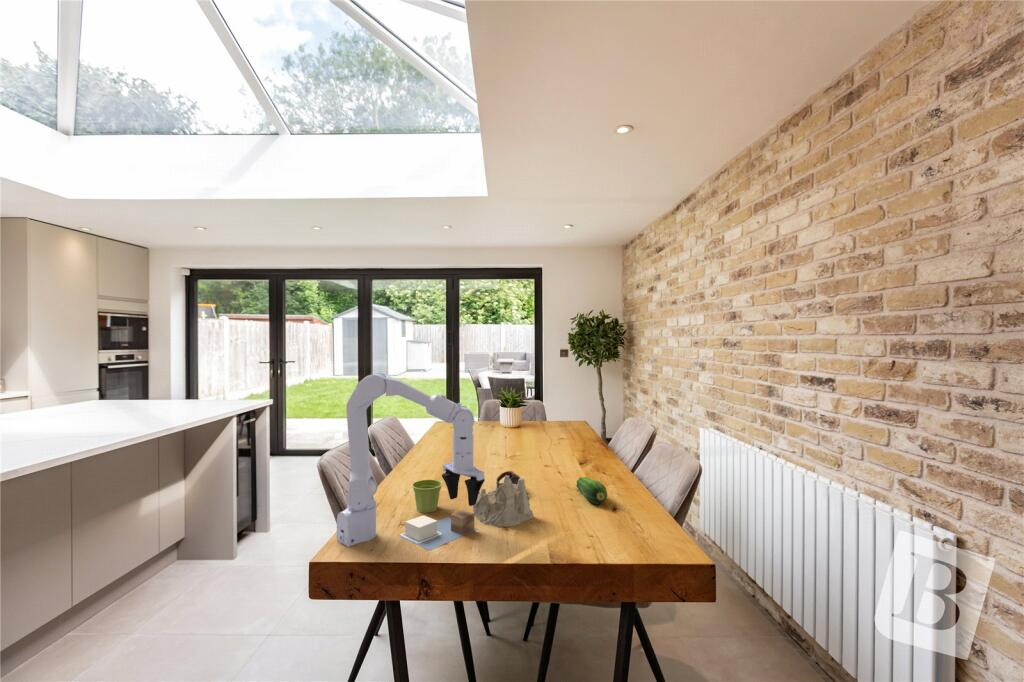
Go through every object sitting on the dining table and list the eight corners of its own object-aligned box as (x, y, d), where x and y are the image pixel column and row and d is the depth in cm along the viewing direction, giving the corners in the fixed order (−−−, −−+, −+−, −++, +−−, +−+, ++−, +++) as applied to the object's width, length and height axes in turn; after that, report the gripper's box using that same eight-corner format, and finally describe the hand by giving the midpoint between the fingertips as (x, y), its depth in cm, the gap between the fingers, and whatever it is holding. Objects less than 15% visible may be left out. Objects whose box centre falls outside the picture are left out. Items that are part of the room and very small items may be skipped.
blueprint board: (429, 554, 107) (429, 549, 107) (398, 539, 116) (398, 535, 116) (478, 532, 120) (478, 528, 120) (447, 520, 129) (447, 516, 129)
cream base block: (419, 541, 113) (419, 527, 113) (405, 534, 116) (405, 521, 117) (437, 533, 117) (437, 520, 117) (423, 527, 121) (423, 515, 121)
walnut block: (462, 535, 116) (462, 518, 116) (450, 530, 119) (451, 514, 119) (474, 530, 120) (474, 513, 120) (463, 525, 123) (463, 509, 123)
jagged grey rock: (541, 519, 130) (538, 468, 130) (499, 537, 119) (495, 481, 119) (507, 508, 141) (504, 461, 142) (466, 523, 130) (462, 473, 131)
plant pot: (447, 508, 139) (447, 480, 139) (434, 519, 130) (434, 489, 130) (420, 505, 142) (420, 478, 142) (406, 515, 132) (406, 487, 133)
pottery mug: (528, 496, 151) (518, 478, 149) (504, 508, 151) (493, 490, 149) (523, 478, 163) (514, 460, 161) (501, 489, 163) (491, 471, 161)
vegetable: (594, 481, 140) (576, 465, 160) (584, 501, 139) (568, 483, 159) (614, 490, 141) (593, 474, 160) (604, 511, 140) (585, 492, 160)
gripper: (492, 453, 118) (492, 503, 118) (456, 445, 128) (456, 492, 127) (473, 458, 113) (473, 511, 112) (437, 449, 122) (437, 498, 122)
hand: (462, 501), depth 119 cm, fingers open, 7 cm apart
